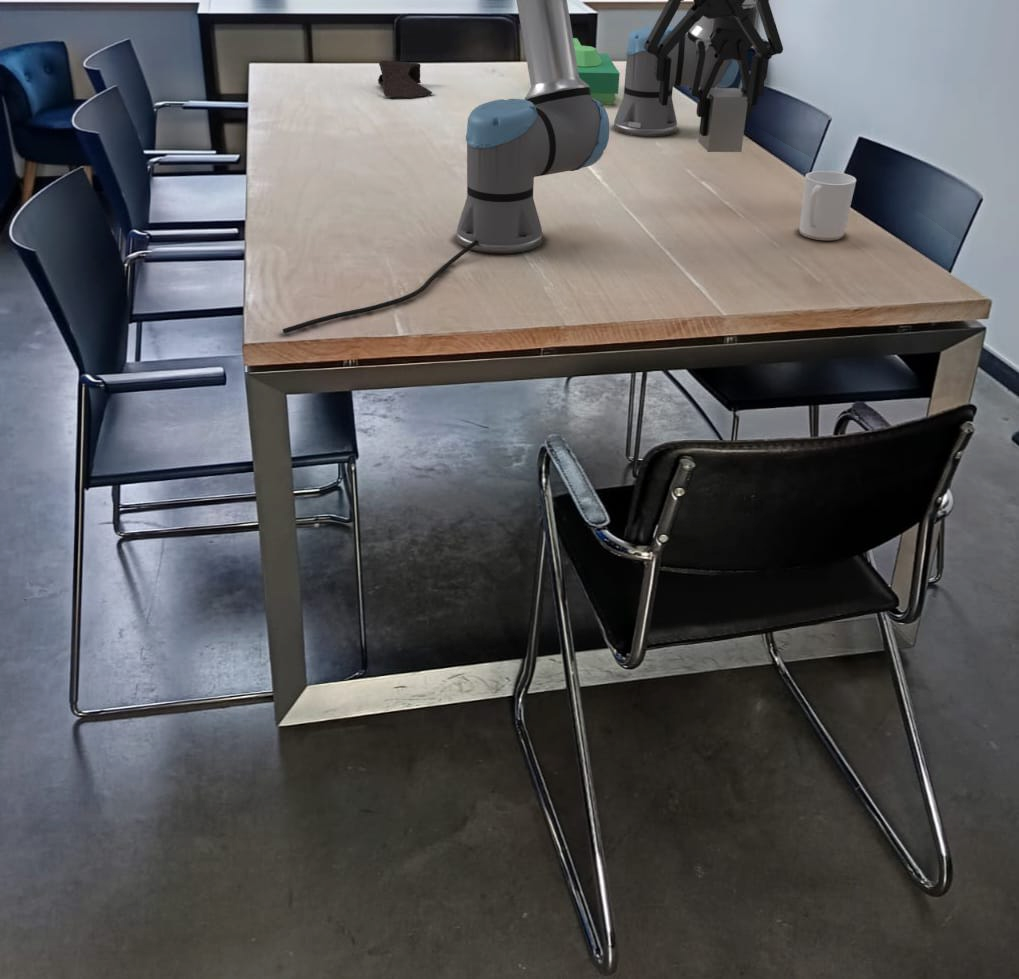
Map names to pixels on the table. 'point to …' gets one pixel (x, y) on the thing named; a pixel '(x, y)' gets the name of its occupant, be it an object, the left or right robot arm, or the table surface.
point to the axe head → (401, 79)
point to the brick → (725, 120)
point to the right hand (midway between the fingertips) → (721, 133)
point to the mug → (826, 204)
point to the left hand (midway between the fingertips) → (707, 103)
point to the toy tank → (597, 73)
